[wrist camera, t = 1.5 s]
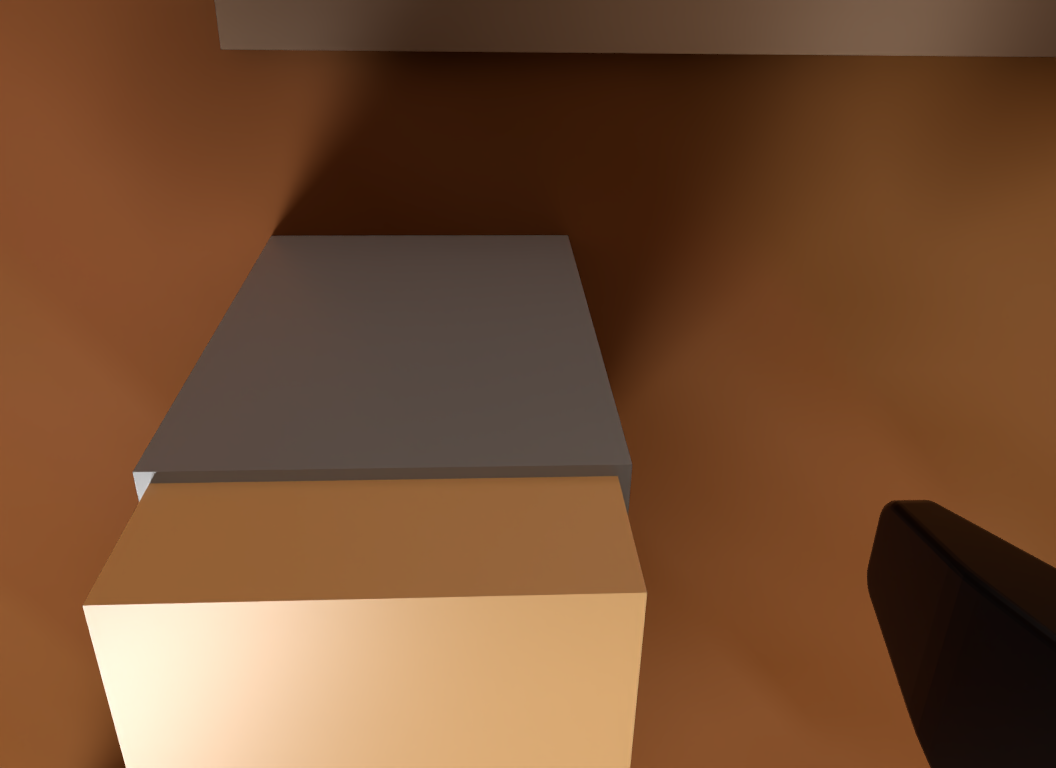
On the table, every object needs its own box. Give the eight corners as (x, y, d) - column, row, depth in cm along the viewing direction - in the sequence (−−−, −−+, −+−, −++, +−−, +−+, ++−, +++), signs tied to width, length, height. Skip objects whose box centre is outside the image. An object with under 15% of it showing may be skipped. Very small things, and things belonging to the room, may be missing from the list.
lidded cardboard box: (568, 235, 11) (665, 579, 6) (558, 479, 13) (626, 935, 7) (271, 235, 11) (61, 592, 5) (300, 483, 13) (162, 956, 7)
